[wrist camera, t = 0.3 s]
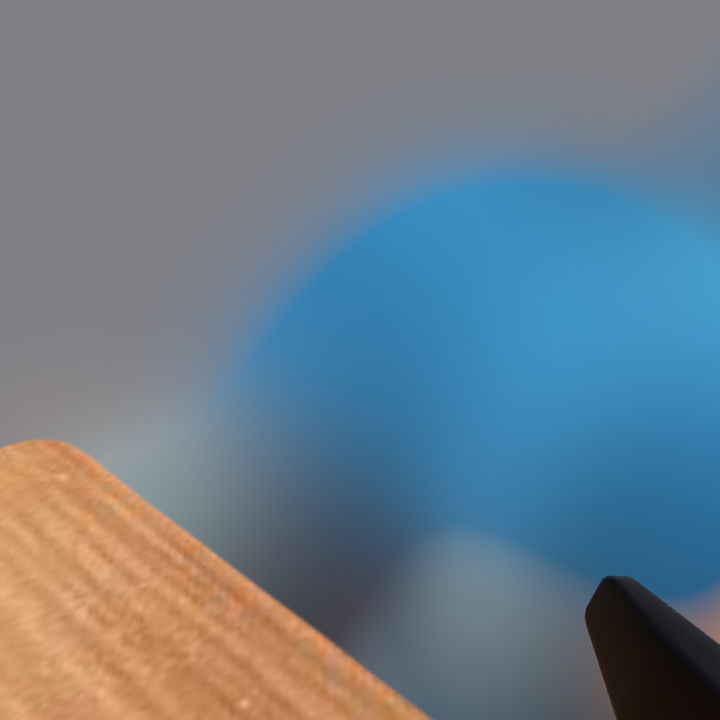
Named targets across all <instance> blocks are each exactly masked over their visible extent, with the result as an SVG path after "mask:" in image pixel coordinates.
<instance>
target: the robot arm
mask: <svg viewBox="0 0 720 720" xmlns="http://www.w3.org/2000/svg"><path fill="white" fill-rule="evenodd" d="M585 620H586V626H587V629H588V632H589V635H590V638H591V641H592V644H593V648H594V651H595V654H596V657H597V660H598V663H599V666H600V670H601V672H602V676H603V679H604V682H605V685H606V688H607V692H608V695H609V698H610V700H611V704H612V707H613V710H614V713H615V715H616V719H617V720H720V644H718V643H717V642H716V641H714V640H713V639H712V638H710V637H709V636H708V635H706V634H705V633H704V632H703V631H701V630H700V629H699V628H697V627H696V626H694V625H693V624H692V623H691V622H689V621H688V620H687V619H686V618H684V617H683V616H682V615H680V614H679V613H678V612H676V611H675V610H674V609H673V608H671V607H670V606H668V605H667V604H666V603H665V602H663V601H662V600H661V599H659V598H658V597H657V596H655V595H654V594H653V593H652V592H650V591H649V590H648V589H646V588H645V587H644V586H642V585H641V584H640V583H638V582H637V581H636V580H634V579H633V578H631V577H628V576H606V577H605V578H603V579H602V581H601V582H600V584H599V586H598V588H597V589H596V592H595V593H594V595H593V597H592V599H591V601H590V602H589V604H588V606H587V608H586V612H585Z"/></svg>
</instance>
